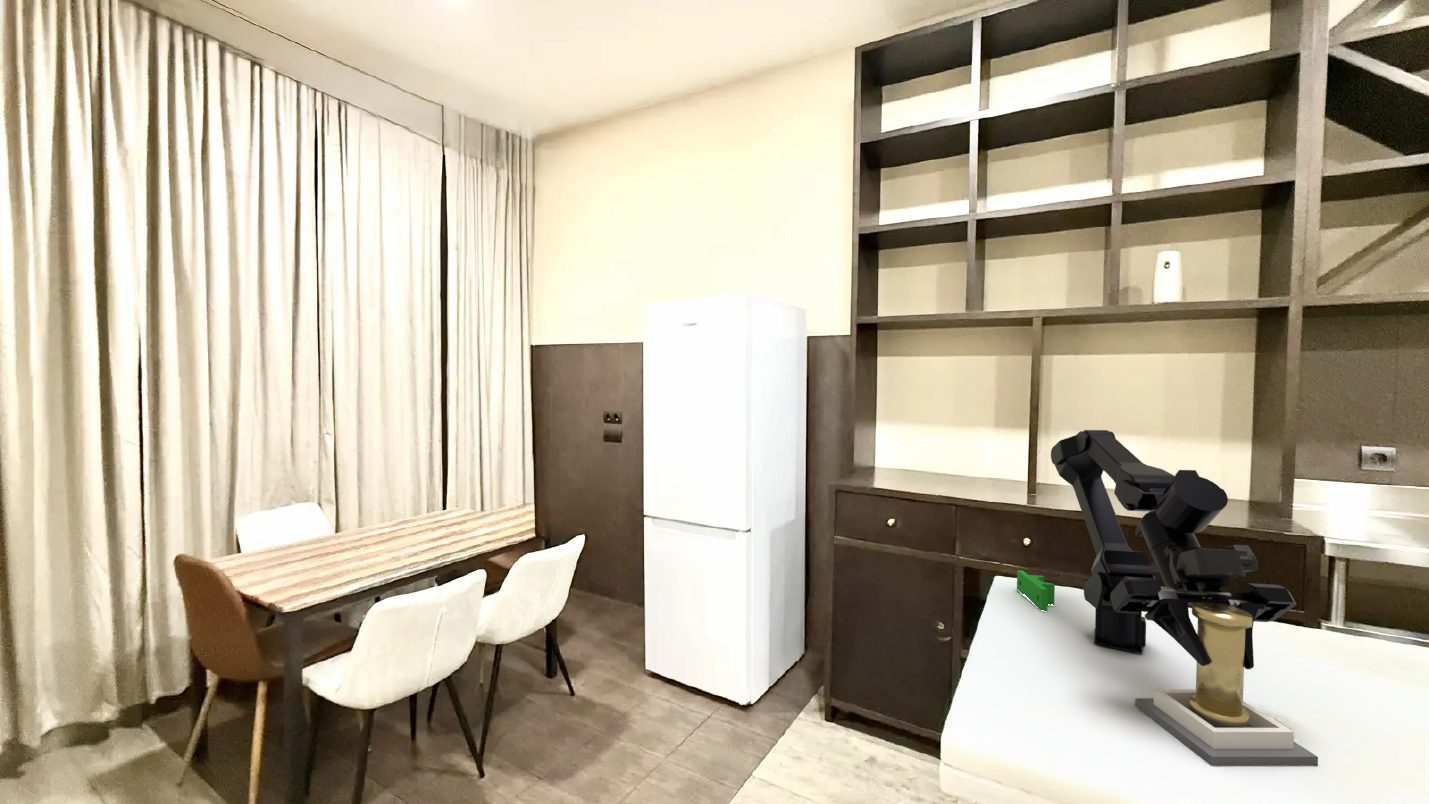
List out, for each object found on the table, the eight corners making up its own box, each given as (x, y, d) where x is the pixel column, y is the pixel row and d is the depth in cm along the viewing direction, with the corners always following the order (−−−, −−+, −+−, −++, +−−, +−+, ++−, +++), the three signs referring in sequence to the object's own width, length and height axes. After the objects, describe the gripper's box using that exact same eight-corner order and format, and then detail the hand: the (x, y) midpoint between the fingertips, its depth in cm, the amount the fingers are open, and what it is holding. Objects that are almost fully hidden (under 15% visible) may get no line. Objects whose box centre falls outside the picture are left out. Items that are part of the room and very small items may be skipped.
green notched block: (1061, 613, 108) (1062, 590, 108) (1041, 613, 109) (1041, 589, 108) (1035, 591, 119) (1035, 570, 119) (1016, 591, 120) (1017, 569, 119)
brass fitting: (1178, 705, 73) (1181, 605, 72) (1206, 696, 74) (1209, 599, 74) (1230, 730, 67) (1234, 623, 67) (1260, 720, 69) (1263, 616, 69)
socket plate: (1211, 765, 65) (1212, 739, 65) (1135, 705, 77) (1135, 683, 77) (1317, 765, 65) (1318, 739, 65) (1224, 705, 77) (1225, 683, 77)
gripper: (1122, 517, 76) (1169, 635, 65) (1287, 523, 72) (1364, 649, 62) (1093, 557, 84) (1131, 668, 73) (1240, 564, 80) (1302, 682, 70)
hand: (1227, 666), depth 69 cm, fingers closed on brass fitting, 4 cm apart
